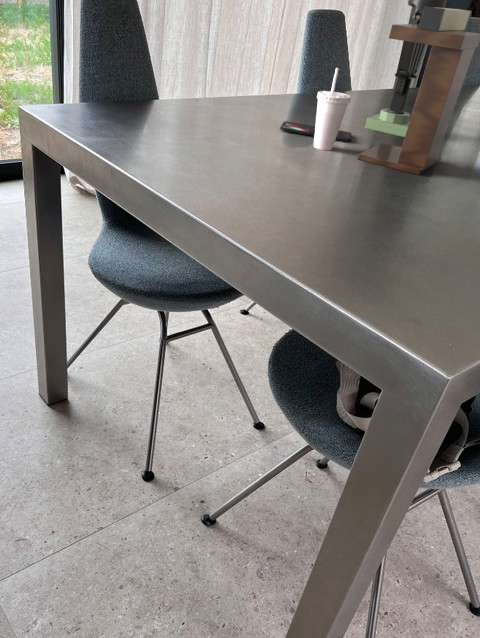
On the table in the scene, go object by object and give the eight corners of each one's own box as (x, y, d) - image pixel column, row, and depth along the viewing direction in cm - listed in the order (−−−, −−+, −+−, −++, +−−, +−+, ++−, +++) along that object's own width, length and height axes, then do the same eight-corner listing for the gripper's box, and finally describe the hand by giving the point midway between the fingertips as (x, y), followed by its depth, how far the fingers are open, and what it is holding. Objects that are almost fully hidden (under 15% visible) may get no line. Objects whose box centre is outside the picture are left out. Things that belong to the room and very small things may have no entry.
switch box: (416, 132, 133) (421, 114, 131) (406, 137, 128) (412, 118, 125) (375, 123, 137) (380, 105, 135) (364, 128, 132) (369, 109, 129)
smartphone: (351, 139, 117) (279, 127, 119) (350, 142, 118) (279, 130, 119) (351, 132, 123) (283, 120, 125) (350, 135, 123) (283, 123, 125)
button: (403, 119, 131) (406, 111, 130) (399, 121, 129) (401, 113, 128) (388, 115, 133) (391, 107, 132) (384, 117, 130) (386, 109, 129)
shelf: (438, 161, 113) (482, 34, 100) (419, 175, 103) (464, 35, 90) (380, 147, 117) (415, 24, 104) (357, 159, 107) (392, 24, 95)
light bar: (466, 30, 107) (472, 10, 105) (436, 31, 91) (443, 8, 90) (449, 27, 108) (455, 8, 107) (418, 28, 93) (424, 6, 91)
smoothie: (315, 141, 116) (331, 64, 107) (344, 149, 113) (363, 70, 105) (301, 146, 111) (317, 66, 103) (330, 154, 108) (349, 72, 100)
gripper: (422, -16, 122) (389, 102, 136) (404, -19, 113) (371, 109, 127) (457, -12, 119) (419, 109, 133) (442, -14, 110) (403, 116, 124)
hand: (396, 109), depth 130 cm, fingers closed
